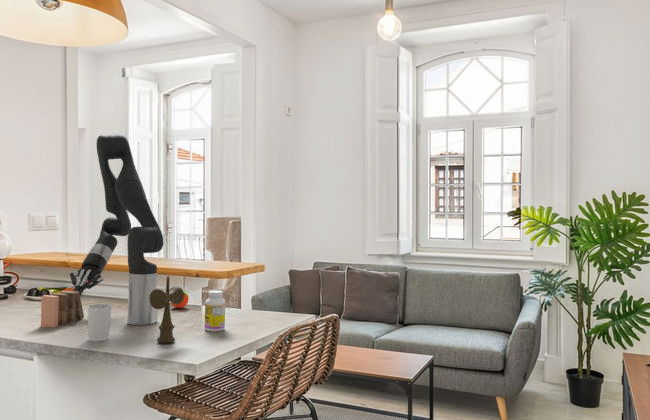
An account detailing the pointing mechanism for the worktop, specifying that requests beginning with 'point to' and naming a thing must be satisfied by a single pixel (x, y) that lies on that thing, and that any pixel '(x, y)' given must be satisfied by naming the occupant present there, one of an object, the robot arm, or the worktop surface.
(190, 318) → the worktop surface
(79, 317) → the domino
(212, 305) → the supplement bottle
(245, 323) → the worktop surface
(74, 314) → the domino
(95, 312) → the drinking glass
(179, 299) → the kendama
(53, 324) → the domino
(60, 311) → the domino
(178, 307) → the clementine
